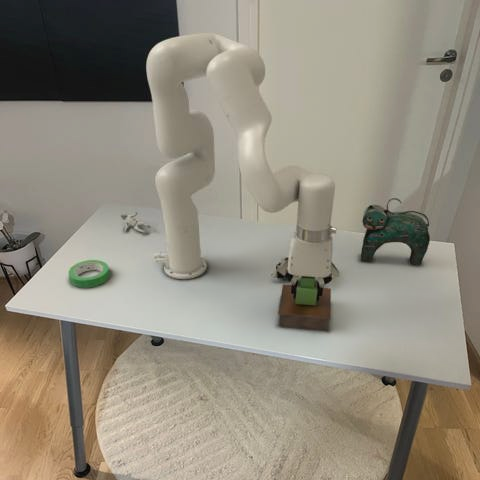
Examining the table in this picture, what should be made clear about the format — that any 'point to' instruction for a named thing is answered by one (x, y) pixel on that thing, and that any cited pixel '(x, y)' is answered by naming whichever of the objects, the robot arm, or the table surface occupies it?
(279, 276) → the robot toy
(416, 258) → the ceramic cat
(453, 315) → the table surface
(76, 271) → the tape roll
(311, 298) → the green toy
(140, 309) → the table surface
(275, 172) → the robot arm
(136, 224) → the soldier figure
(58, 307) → the table surface
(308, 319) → the walnut plinth
